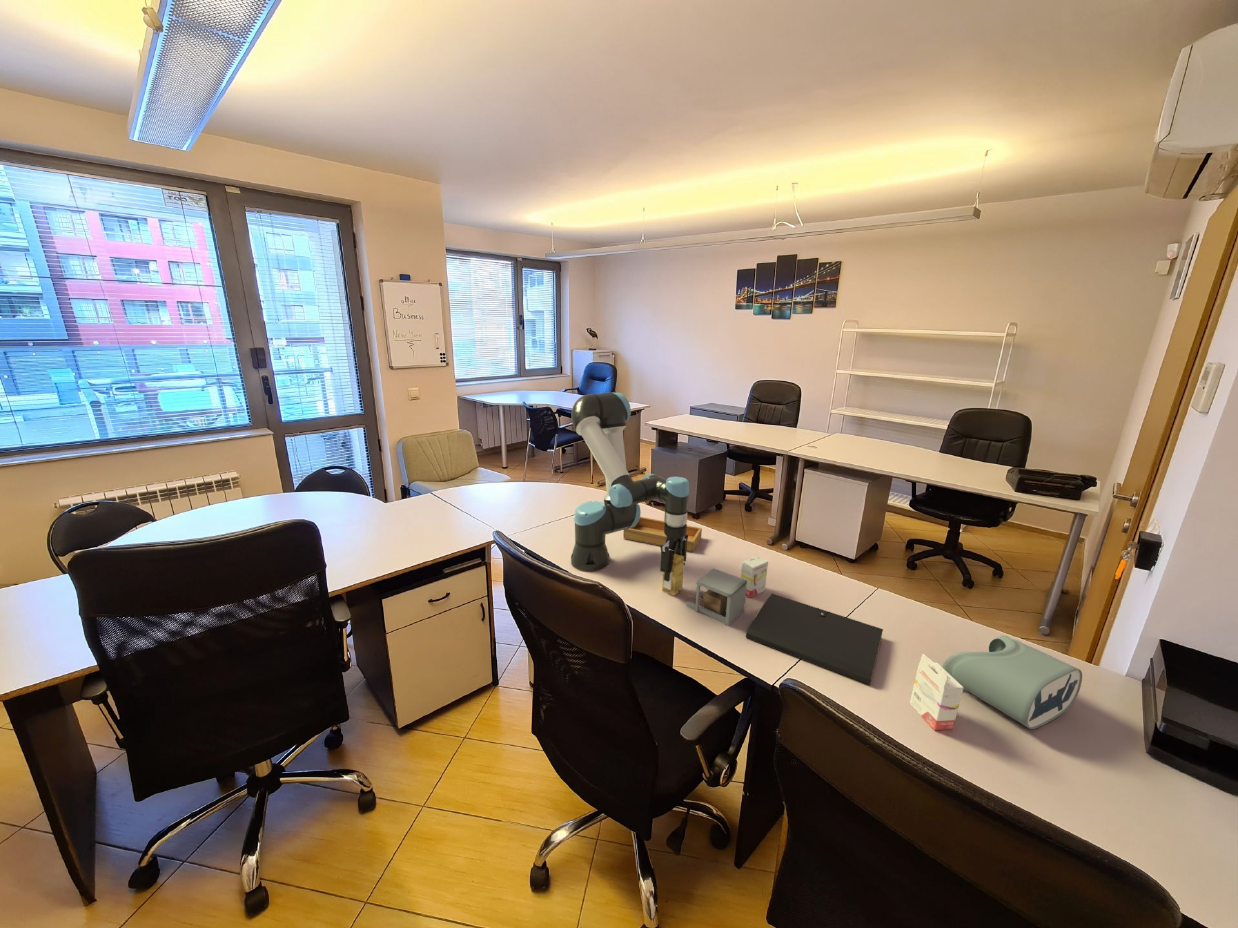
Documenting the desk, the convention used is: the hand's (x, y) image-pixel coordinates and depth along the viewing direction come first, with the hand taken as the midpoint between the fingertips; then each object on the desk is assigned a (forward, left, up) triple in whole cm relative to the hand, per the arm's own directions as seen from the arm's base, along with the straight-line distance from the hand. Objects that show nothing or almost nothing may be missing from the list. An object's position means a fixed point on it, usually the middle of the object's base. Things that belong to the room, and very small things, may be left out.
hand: (672, 584), depth 161 cm
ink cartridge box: (+77, -5, -2) cm, 78 cm away
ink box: (+21, +18, -2) cm, 28 cm away
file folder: (+46, +6, -3) cm, 47 cm away
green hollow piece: (+90, +15, -3) cm, 92 cm away
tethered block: (+9, 0, -2) cm, 9 cm away
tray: (-27, +32, -3) cm, 42 cm away
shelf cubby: (+17, 0, -2) cm, 17 cm away
